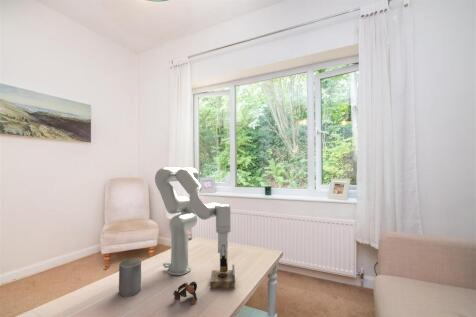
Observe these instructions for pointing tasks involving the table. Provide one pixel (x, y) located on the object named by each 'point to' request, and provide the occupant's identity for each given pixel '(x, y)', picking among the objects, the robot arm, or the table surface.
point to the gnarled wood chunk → (190, 288)
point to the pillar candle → (129, 277)
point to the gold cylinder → (225, 269)
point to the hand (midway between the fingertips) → (223, 264)
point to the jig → (223, 279)
